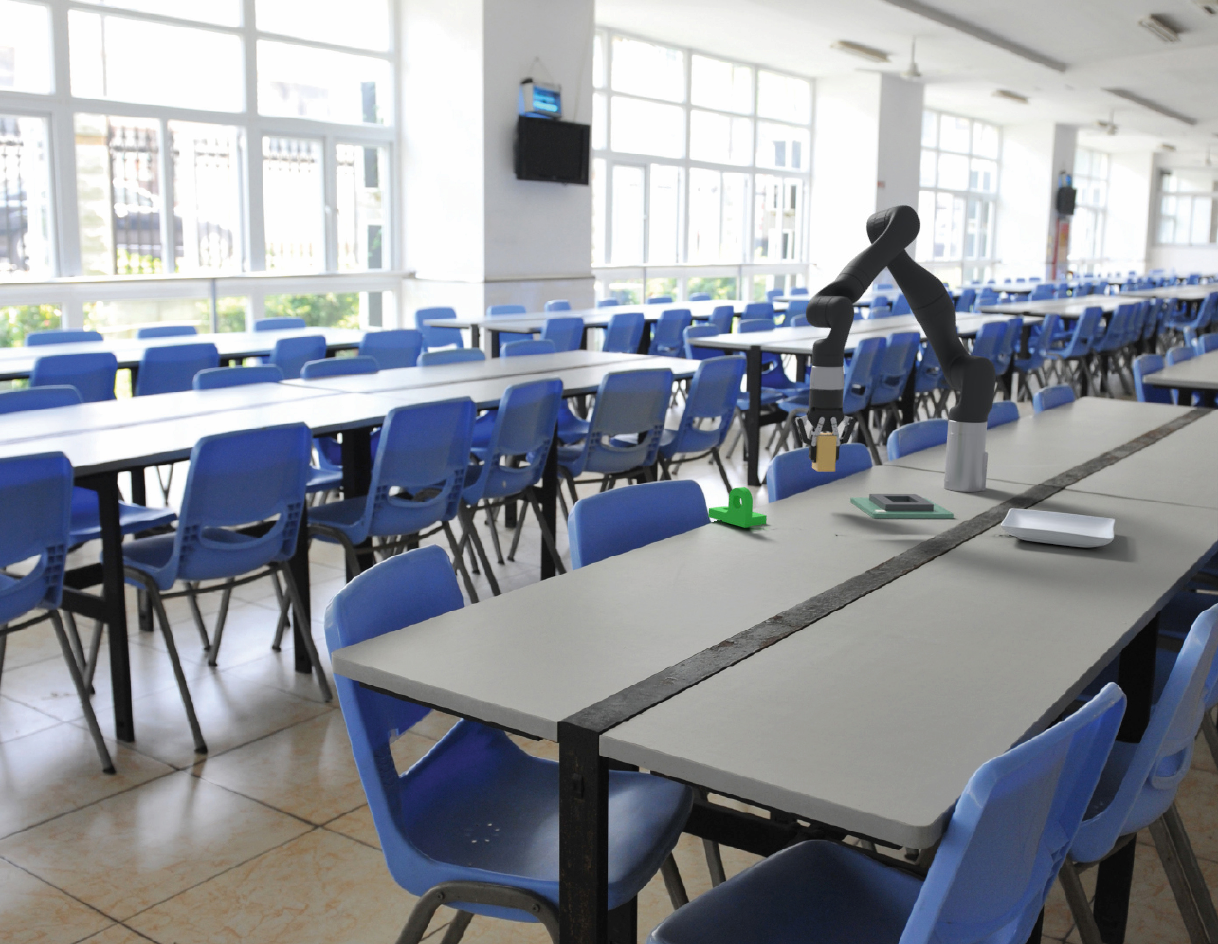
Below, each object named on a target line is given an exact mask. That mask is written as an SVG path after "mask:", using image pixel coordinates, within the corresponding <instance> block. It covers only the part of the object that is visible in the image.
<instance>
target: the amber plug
mask: <svg viewBox="0 0 1218 944" xmlns="http://www.w3.org/2000/svg"><path fill="white" fill-rule="evenodd" d="M836 438H837V436H833V435H832V434H830V432H821V433H820V436H818V437H817V444H816V447H817V456H816V463H813V462H811V468H812V470H815V471H816V472H817V473H818V472H820V473H821V472H825V473H827V472H836V463H835V461H836V462H837V460H836Z"/></svg>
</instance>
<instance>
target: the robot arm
mask: <svg viewBox="0 0 1218 944" xmlns="http://www.w3.org/2000/svg"><path fill="white" fill-rule="evenodd" d="M865 223H866V225H865V230H866V236H867V239H868V240H869V242H870V245H869V246H868V247H866V248H865V249H864V250H863V251H861V252H859V254H857V255H856V256H855V257H854V258H853V259H851V260H850V261H849V262H848V263H847V264H846V265H845V267H843V269H842V270H841V271H840V273H839V274H838V275H837V276H836V278H835V280H833V281H832V282H830V283H829V284H827V285H826V286H824V287H823V288H822V289H820V290H819V291H817V292H816V293H815V294H814V295H813V296H812V297H811V298H810V300H809V301H808V304H807V305H806V309H805V318H806V321H807V322H808V324H810V326H812V327H814V328H819V329H821V328H822V329H830V330H829V333H828V335H827V336H826V337H825V338H820V339H817V340H815V341H814V342H813V343H812V348H811V349H812V350H811V351H812V352H811V353H812V355H811V370H810V375H809V391H808V392H809V394H808V395H809V396H808V397H809V399H808V411H807V412H806V415H803V416H797V417H795V418H794V422H795V425H796V428H797V433H798V435H799V439H800V442H802V443H803V444H804V445H805V444H806V445H808V459H809V460H810V461H811V463H812V462H813V463H816V456H817V447H816V444H817V437H818V436H820V433H825V432H827V433H830V434H832V435H833V436H837V438H836V461H835V464H836V463H837V461H839V458H840V446H841V445H844V444H848V443H849V440H850V437H851V436H852V432H853V430H854V428H855V425H856V422H857V419H856V418H854V417H852V416H847V415H845V411H844V394H845V393H844V391H845V369H844V368H845V366H844V363H845V349H846V345H847V342H848V338H849V334H850V331H851V329H852V325H853V322H854V319H855V307H854V305H853V304H855V303H857V302H858V301H859V300H860V299H861V297H863V295H864V294H865V293H866V292H867V290H868V289H869V287H870V286H871V285H872V283H873V282H874V280H875V279H876V278H877V277H878V276H879V275H881V273H882V271H883V270H884V269H885V268H887V269H888V271H889V273H890V275H891V276H892V277H893V279H894V281H895V283H896V284H897V286H898V287H899V289H900V291H901V293H902V295H903V296H904V298H905V300H906V302H907V304H908V306H909V308H910V310H911V312H912V314H913V315H914V317H915V319H916V321H917V322H918V323H919V326H920V327H921V330H922V331H923V334H924V335H925V337H926V340H927V341H928V342H929V344H930V347H932V349H933V352H934V354H935V356H936V359H937V361H938V364H939V366H940V369H941V372H942V374H943V376H944V378H945V381H946V383H947V384H948V385H949V386H950V387H951V388H952V389H953V390H955V391H957V392H959V393H960V399H959V402H958V403H957V404H956V405H954V406H952V407H951V408H950V409H949V411H948V421H947V422H948V423H947V435H946V436H947V437H946V438H947V439H946V450H945V451H946V452H945V465H944V479H943V488H944V489H946V490H950V491H954V492H961V493H962V492H963V493H965V492H967V493H972V492H973V493H975V492H985V491H986V488H987V475H988V474H987V473H988V464H989V463H988V462H989V453H988V452H987V451H986V447H987V446H986V445H987V434H988V433H987V432H988V429H987V428H988V420H989V414H990V413H991V411H992V408H993V403H994V396H995V389H996V378H997V375H996V368H995V365H994V363H993V361H991V359H989V358H988V357H985V356H980V355H973V354H970V353H969V352H968V351H967V349H966V348H965V345H964V344H963V343H962V341H961V339H960V338H959V337H960V336H958V335H959V334H958V331H957V315H956V313H957V312H956V309H955V308H956V307H955V305H954V302H953V300H952V298H951V296H950V294H949V293H948V291H947V288H946V286H945V285H944V283H943V282H942V281H941V280H940V279H939V278H938V277H937V276H936V275H935V274H933V273H932V272H930V271H929V270H928V269H926V268H924V267H923V266H922V265H920V264H919V263H918V262H916V261H915V260H914V259H913V258H912V257H911V256H910V255H909V253H908V252H907V250H906V248H907V247H908V246H910V244H912V243H914V241H915V240H916V239H917V238H918V235H919V234H920V231H921V219H920V217H919V214H918V213H917V211H916V210H915V208H913V207H912V206H909V205H906V204H903V205H895V206H892V207H889V208H887V209H883V210H879V211H876V212H875V213H873V214H871V215H870V216H869V217H868V218H867V220H866V222H865ZM807 421H808V422H809V424H810V425H811V426H812V427H811V431H810V435H809V436H808V432H807V430H806V426H807ZM842 422H843V425H844V427H843V429H842V430H843V431H842V433H841V434H840V433H839V432H840V431H839V428H838V427H839V426H840V425H841V423H842ZM840 435H841V436H840Z"/></svg>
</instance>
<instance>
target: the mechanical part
mask: <svg viewBox="0 0 1218 944" xmlns="http://www.w3.org/2000/svg"><path fill="white" fill-rule="evenodd" d="M753 506H754V498H753V494H752V492H751V490H750V489H749V488H747V487H745V486H741V487H734V488H732V489H731V491H729V494H728V506H727V505H726V506H714V507H708V518H711V519H714V520H717V521H720V520H722V521H721V522H723V523H727V524H731V525H735V526H737V527H741V528H751V527H753V526H761V525H767V519H768V517H767V515H766V514H762V513H758V512H755V511H754V510H753V509H754V507H753Z"/></svg>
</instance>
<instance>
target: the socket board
mask: <svg viewBox="0 0 1218 944" xmlns="http://www.w3.org/2000/svg"><path fill="white" fill-rule="evenodd" d="M849 502H850V503H852V504H853V505H854V506H855V507H856V508H858V509H859V510H861V511H863V512H864V513H865V514H867V515H868V516H870V517H871V518H873V519H955V518H954V516H955V513H954V512H951V511H949V510H948V509H946V508H944V507H942V506H941V505H939V504H937V503H936V502H934V501H932V500H931V499H928V498H927V497H922V496H920V495H918V494H916V493H868V497H850V501H849Z"/></svg>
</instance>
